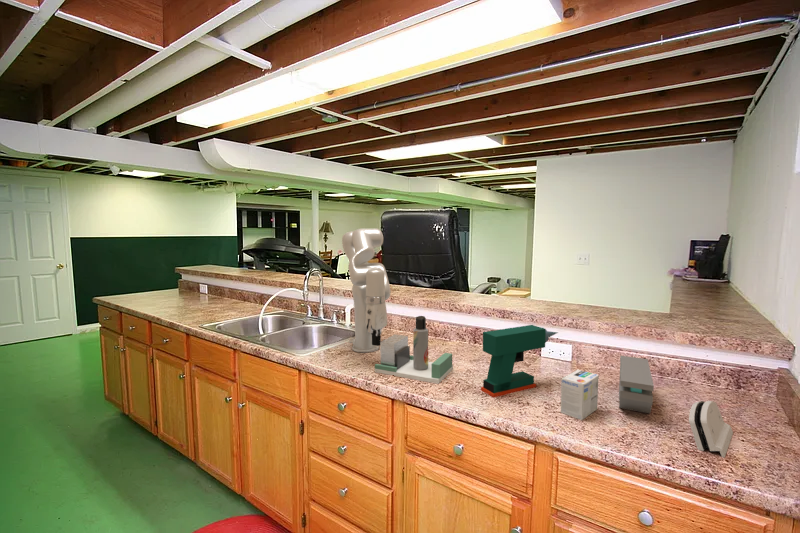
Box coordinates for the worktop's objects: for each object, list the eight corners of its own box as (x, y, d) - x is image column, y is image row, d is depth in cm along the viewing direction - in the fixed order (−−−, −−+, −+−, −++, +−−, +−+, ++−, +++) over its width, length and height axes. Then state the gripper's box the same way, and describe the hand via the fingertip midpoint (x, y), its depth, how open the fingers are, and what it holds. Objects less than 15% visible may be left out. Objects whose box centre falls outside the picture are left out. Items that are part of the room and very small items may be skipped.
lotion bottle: (430, 366, 147) (430, 315, 146) (425, 371, 142) (424, 318, 140) (416, 364, 150) (416, 314, 148) (411, 369, 145) (410, 317, 143)
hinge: (724, 458, 89) (708, 414, 91) (700, 456, 93) (685, 414, 94) (733, 432, 101) (719, 394, 102) (711, 431, 104) (697, 394, 106)
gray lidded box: (619, 386, 131) (620, 355, 130) (646, 390, 127) (647, 359, 126) (619, 417, 109) (620, 380, 108) (651, 423, 105) (653, 385, 104)
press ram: (380, 367, 147) (380, 341, 146) (395, 357, 158) (394, 334, 157) (396, 370, 144) (396, 344, 143) (410, 360, 154) (410, 336, 154)
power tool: (549, 373, 143) (550, 321, 141) (564, 380, 137) (565, 325, 135) (479, 389, 129) (480, 331, 127) (493, 397, 123) (494, 337, 121)
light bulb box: (575, 401, 119) (576, 368, 118) (598, 409, 114) (599, 374, 113) (559, 412, 112) (560, 377, 111) (582, 421, 107) (584, 384, 106)
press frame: (374, 372, 146) (374, 355, 145) (394, 359, 160) (393, 344, 160) (438, 383, 134) (438, 366, 134) (453, 369, 149) (453, 352, 148)
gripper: (374, 304, 144) (374, 351, 146) (392, 297, 157) (393, 341, 159) (357, 302, 147) (358, 348, 149) (376, 296, 161) (377, 339, 162)
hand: (376, 344), depth 154 cm, fingers closed
